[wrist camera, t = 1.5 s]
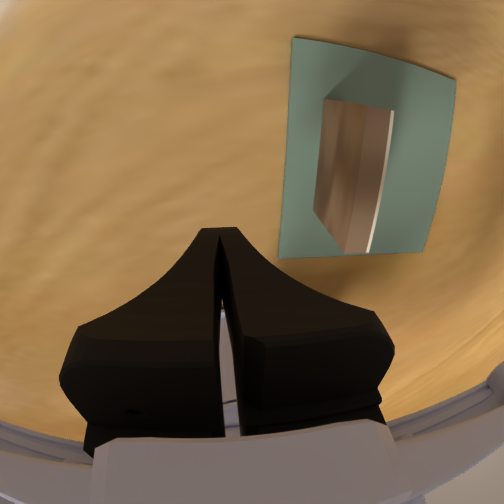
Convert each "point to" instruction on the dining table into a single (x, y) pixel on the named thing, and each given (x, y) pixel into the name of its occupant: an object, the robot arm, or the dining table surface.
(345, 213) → the tile
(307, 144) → the mat
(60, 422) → the dining table surface
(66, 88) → the dining table surface
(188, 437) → the robot arm
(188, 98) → the dining table surface
